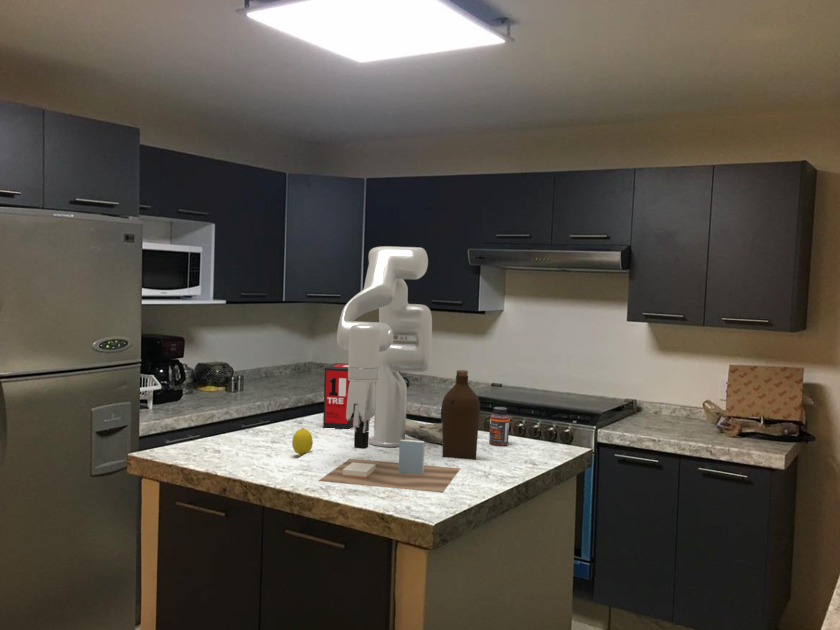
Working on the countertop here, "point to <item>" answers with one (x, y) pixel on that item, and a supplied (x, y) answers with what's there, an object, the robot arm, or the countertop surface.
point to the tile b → (411, 457)
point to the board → (396, 477)
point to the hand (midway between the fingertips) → (361, 447)
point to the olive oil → (460, 420)
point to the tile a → (359, 470)
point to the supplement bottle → (499, 427)
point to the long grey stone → (424, 431)
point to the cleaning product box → (336, 397)
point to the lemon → (302, 441)
